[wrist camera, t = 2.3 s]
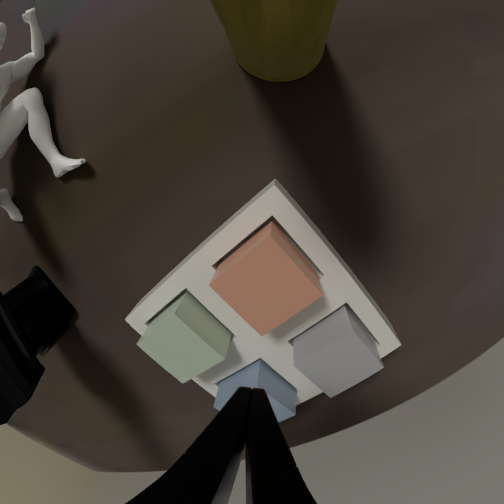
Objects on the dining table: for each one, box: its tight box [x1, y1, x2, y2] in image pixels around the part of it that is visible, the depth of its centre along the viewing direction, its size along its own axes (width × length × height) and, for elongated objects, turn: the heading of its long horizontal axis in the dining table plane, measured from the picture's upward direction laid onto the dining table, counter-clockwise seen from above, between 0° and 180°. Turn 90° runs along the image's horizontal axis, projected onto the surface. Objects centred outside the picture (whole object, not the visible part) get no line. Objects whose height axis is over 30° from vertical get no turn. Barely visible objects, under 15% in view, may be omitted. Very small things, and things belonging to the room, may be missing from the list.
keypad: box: [125, 178, 401, 405], centre depth 21 cm, size 15×15×3 cm
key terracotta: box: [209, 221, 323, 336], centre depth 17 cm, size 4×4×3 cm
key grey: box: [293, 305, 384, 398], centre depth 19 cm, size 4×4×3 cm
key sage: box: [137, 292, 231, 383], centre depth 19 cm, size 4×4×3 cm
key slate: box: [213, 359, 296, 422], centre depth 21 cm, size 4×4×3 cm
